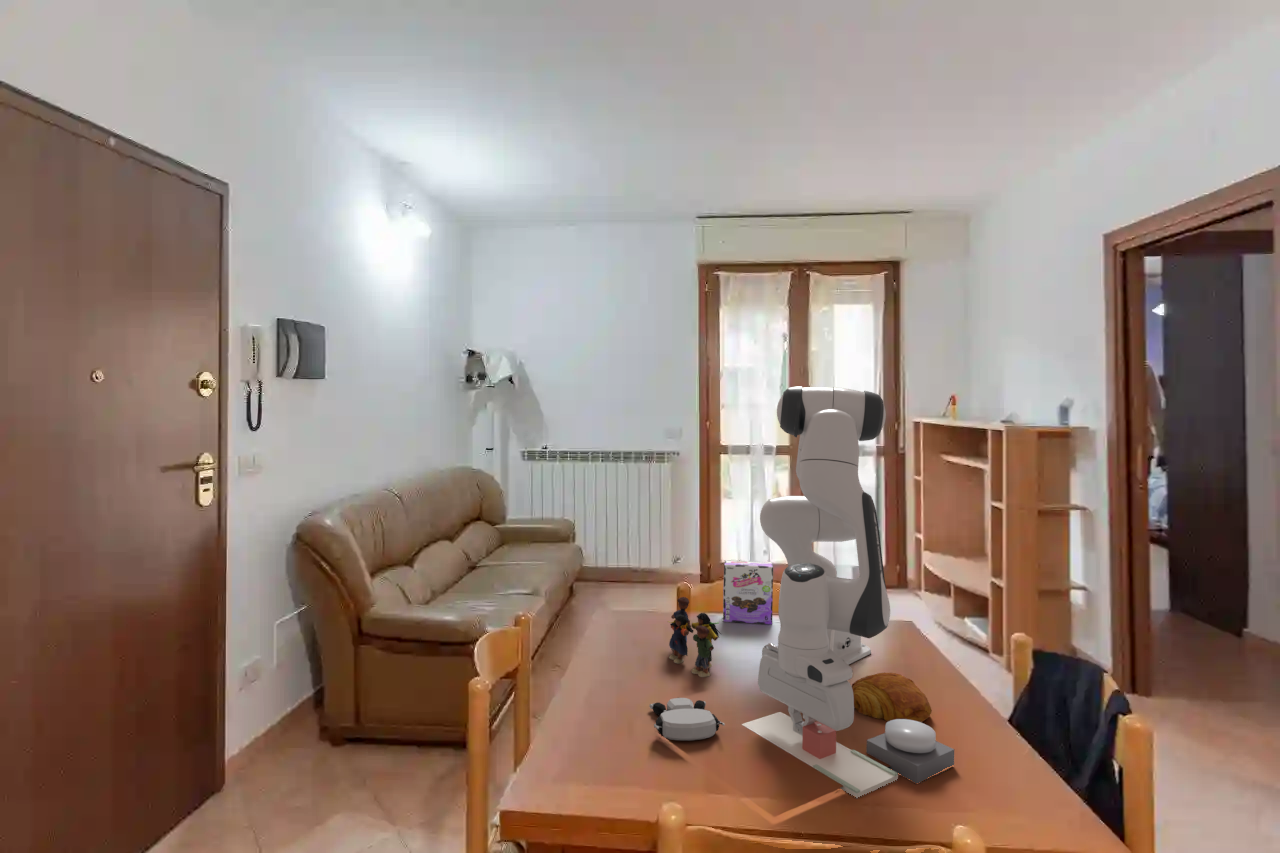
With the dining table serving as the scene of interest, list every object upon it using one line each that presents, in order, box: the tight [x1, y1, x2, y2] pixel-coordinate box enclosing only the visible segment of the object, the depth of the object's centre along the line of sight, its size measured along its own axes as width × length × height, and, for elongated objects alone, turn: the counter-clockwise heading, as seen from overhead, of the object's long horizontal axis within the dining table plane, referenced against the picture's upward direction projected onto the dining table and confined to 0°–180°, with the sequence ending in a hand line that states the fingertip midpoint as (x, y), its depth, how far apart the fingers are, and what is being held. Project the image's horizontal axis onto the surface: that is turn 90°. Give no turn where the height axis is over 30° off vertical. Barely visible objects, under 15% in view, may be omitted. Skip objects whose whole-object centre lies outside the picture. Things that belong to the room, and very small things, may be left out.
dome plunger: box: [884, 719, 937, 753], centre depth 117 cm, size 8×8×4 cm
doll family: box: [667, 596, 723, 678], centre depth 163 cm, size 23×9×13 cm, turn 35°
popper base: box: [866, 732, 955, 784], centre depth 117 cm, size 10×10×3 cm
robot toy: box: [648, 697, 726, 741], centre depth 128 cm, size 12×4×15 cm
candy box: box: [722, 559, 774, 625], centre depth 193 cm, size 14×6×16 cm, turn 81°
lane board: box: [740, 711, 899, 799], centre depth 119 cm, size 13×27×1 cm, turn 33°
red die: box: [802, 721, 837, 759], centre depth 119 cm, size 4×4×4 cm
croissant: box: [851, 672, 933, 723], centre depth 136 cm, size 14×16×8 cm
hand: (802, 733), depth 122 cm, fingers closed
